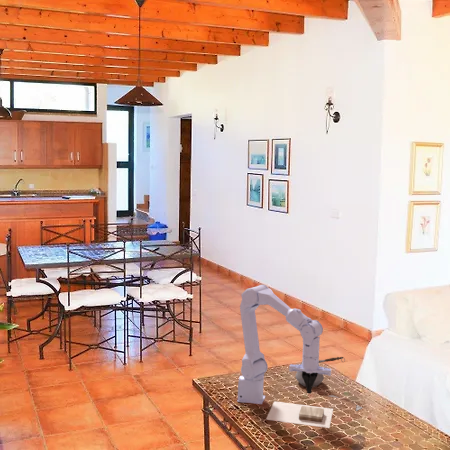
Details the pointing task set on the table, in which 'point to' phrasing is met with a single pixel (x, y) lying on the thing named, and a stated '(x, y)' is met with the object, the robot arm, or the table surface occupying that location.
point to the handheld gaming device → (356, 405)
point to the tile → (311, 414)
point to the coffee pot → (319, 376)
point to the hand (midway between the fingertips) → (309, 392)
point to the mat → (296, 414)
